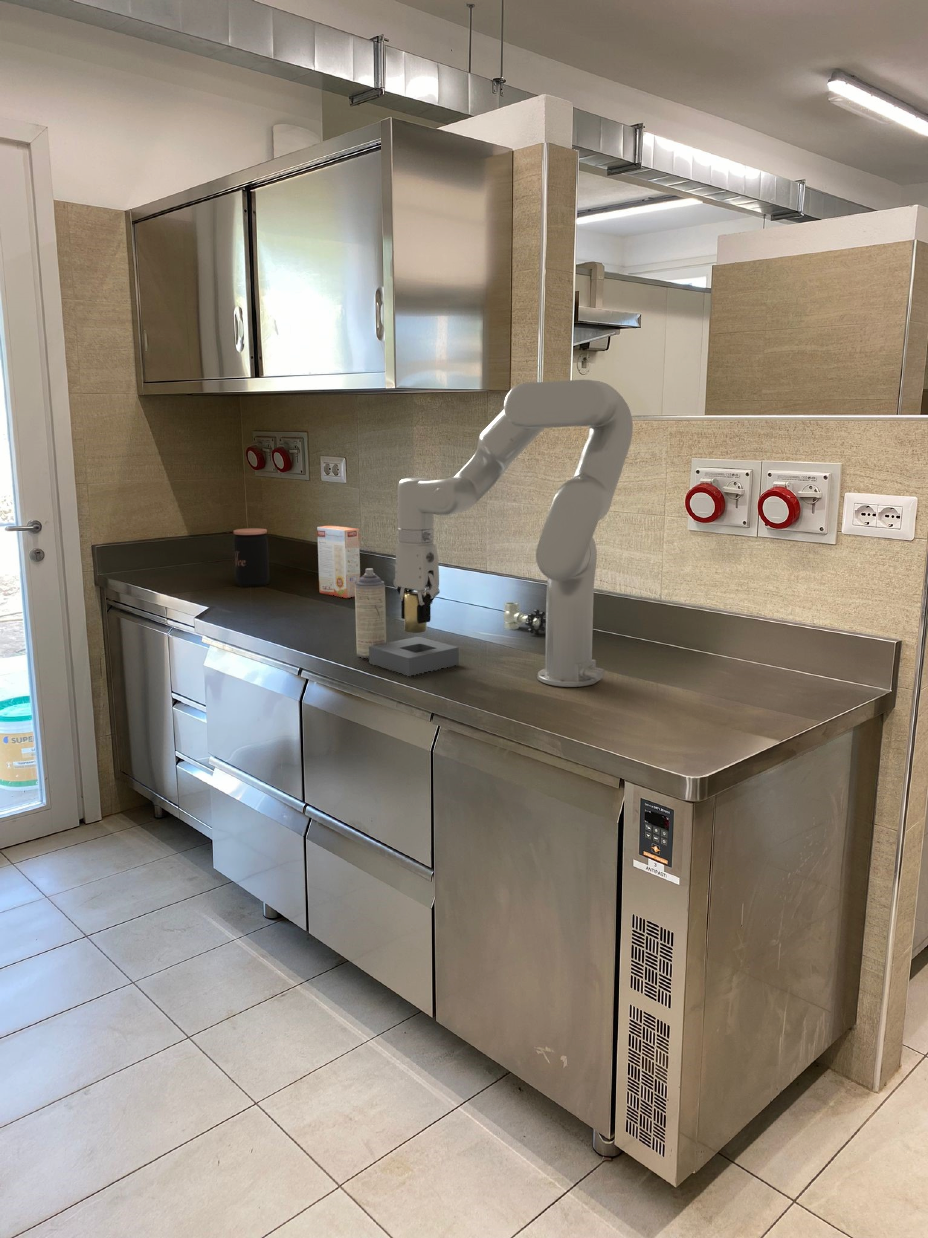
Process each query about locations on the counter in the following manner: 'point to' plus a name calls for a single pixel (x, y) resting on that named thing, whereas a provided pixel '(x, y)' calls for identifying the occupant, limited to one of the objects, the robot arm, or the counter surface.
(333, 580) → the cracker box
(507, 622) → the valve
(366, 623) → the aerosol can
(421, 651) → the block
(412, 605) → the brass bushing
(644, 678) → the counter surface
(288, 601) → the counter surface
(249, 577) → the coffee jar
